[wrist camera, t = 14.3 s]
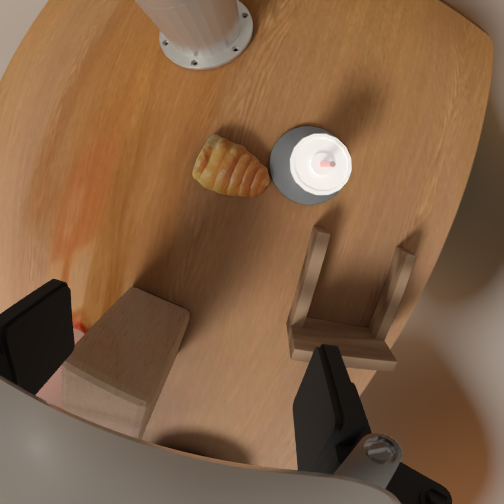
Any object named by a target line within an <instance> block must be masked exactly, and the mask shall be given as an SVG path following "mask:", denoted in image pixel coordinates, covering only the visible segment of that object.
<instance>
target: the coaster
mask: <svg viewBox="0 0 504 504" xmlns="http://www.w3.org/2000/svg"><path fill="white" fill-rule="evenodd" d="M312 134H328V135H330V136H333V135H332V134H331V133H329V132H328V131H326V130H324V129H321V128H318V127H312V126H303V127H298V128H295V129H292V130H290V131H288V132H287V133H285V134H284V135H283V136H282V137H281V138H280V139H279V140H278V141H277V142H276V144H275V146H274V148H273V150H272V152H271V156H270V173H271V177H272V179H273V182H274V183H275V185H276V187H277V188H278V189H279V191H280V192H281V193H282V194H283V195H285V196H286V197H287V198H289V199H290V200H292V201H295V202H297V203H300V204H306V205H313V204H319V203H323V202H325V201H327V200H329V199H331V198H332V197H334V196H335V195H336V194H337V193H338V192H339V191H340V190H341V189H340V190H338V191H336V192H334V193H332V194H330V195H315V194H312V193H310V192H307V191H305V190H304V189H303V188H302V187H300V186H299V185H298V184H297V183H296V182H295V179H294V177H293V175H292V173H291V171H290V157H291V154H292V152H293V149H294V147H295V146H296V145H297V144H298V143H299V142H300V141H301V140H302V139H303V138H305V137H307V136H309V135H312ZM333 137H335V136H333ZM335 138H336V137H335Z"/></svg>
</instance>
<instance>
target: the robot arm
mask: <svg viewBox="0 0 504 504" xmlns="http://www.w3.org/2000/svg"><path fill="white" fill-rule="evenodd" d="M134 1H135V2H136V3H137V4H138V5H139V6H140V7H141V8H142V10H143V11H144V12H145V13H146V14H147V15H148V16H149V18H150V19H151V20H152V21H153V22H154V23H155V25H156V26H157V27H158V28H159V29H160V32H159V41H160V46H161V48H162V50H163V52H164V54H165V55H166V56H167V57H168V58H169V59H170V60H171V61H172V62H173V63H175V64H177V65H179V66H180V67H183V68H186V69H191V70H209V69H214V68H217V67H220V66H223V65H225V64H227V63H229V62H231V61H233V60H234V59H235V58H237V57H238V56H239V55H240V54H241V53H242V52H243V51H244V50H245V49H246V47H247V46H248V44H249V43H250V40H251V37H252V33H253V21H252V17H251V14H250V12H249V10H248V9H247V8H246V7H245V5H244V4H243V3H241V2H240V1H239V0H134ZM244 17H246V18H244ZM166 44H167V45H166ZM234 50H238V51H234ZM195 63H197V65H195V66H194V64H195ZM74 347H75V343H74V333H73V322H72V309H71V291H70V288H69V287H68V285H67V283H66V282H63V281H60V280H57V279H52V280H50V281H49V282H47V283H46V284H44V285H43V286H41V287H40V288H38V289H36V290H35V291H33V292H32V293H30V294H29V295H27V296H26V297H24V298H23V299H21V300H20V301H18V302H17V303H16V304H14V305H13V306H11V307H10V308H8V309H7V310H5V311H4V312H3V313H1V314H0V504H452V498H451V495H450V493H449V492H448V490H447V489H446V488H445V487H443V486H442V485H441V484H438V483H437V482H435V481H433V480H431V479H429V478H428V477H426V476H424V475H422V474H420V473H419V472H417V471H415V470H413V469H412V468H410V467H408V466H407V465H405V464H403V463H401V459H402V449H401V447H400V445H399V444H398V443H397V442H396V441H395V440H394V439H393V438H391V437H389V436H387V435H384V434H380V433H372V432H371V429H370V426H369V424H368V420H367V418H366V415H365V412H364V409H363V406H362V403H361V400H360V398H359V395H358V392H357V389H356V386H355V385H354V383H352V382H351V381H350V378H349V375H348V373H347V370H346V367H345V364H344V361H343V359H342V356H341V353H340V350H339V348H338V346H335V345H328V344H321V346H320V347H316V348H315V349H314V351H313V354H312V357H311V359H310V362H309V365H308V367H307V370H306V372H305V375H304V377H303V380H302V382H301V385H300V387H299V390H298V392H297V395H296V397H295V399H294V403H293V417H294V428H295V440H296V452H297V464H298V470H289V469H279V468H270V467H262V466H255V465H249V464H242V463H236V462H230V461H224V460H219V459H214V458H209V457H204V456H199V455H195V454H191V453H187V452H182V451H179V450H175V449H171V448H167V447H164V446H160V445H157V444H153V443H150V442H147V441H143V440H140V439H137V438H134V437H131V436H128V435H125V434H122V433H119V432H117V431H114V430H111V429H109V428H106V427H103V426H101V425H98V424H96V423H93V422H91V421H88V420H86V419H84V418H81V417H79V416H77V415H74V414H72V413H70V412H68V411H66V410H63V409H61V408H59V407H57V406H55V405H53V404H51V403H49V402H47V401H45V400H43V399H41V398H39V397H37V396H35V395H36V394H37V393H38V391H39V390H40V389H41V388H42V387H43V386H44V384H45V383H46V382H47V381H48V380H49V379H50V377H51V376H52V375H53V374H54V373H55V372H56V371H57V369H58V368H59V367H60V366H61V365H62V364H63V363H64V361H65V360H66V359H67V358H68V357H69V356H70V355H71V354H72V352H73V350H74Z"/></svg>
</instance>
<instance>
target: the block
mask: <svg viewBox="0 0 504 504" xmlns="http://www.w3.org/2000/svg"><path fill="white" fill-rule="evenodd" d="M189 319H190V315H189V311H188V310H186V309H184V308H182V307H179V306H177V305H175V304H172V303H170V302H168V301H165V300H163V299H161V298H158V297H156V296H154V295H152V294H149V293H147V292H145V291H143V290H140V289H138V288H134V287H132V288H130V289H129V290H128V291H127V292H126V293H125V294H124V295H123V296H122V297H121V298H120V299H119V300H118V301H117V302H116V303H115V304H114V305H113V306H112V307H111V308H110V309H109V310H108V311H107V312H106V313H105V314H104V315H103V316H102V317H101V318H100V319H99V320H98V321H97V322H96V323H95V324H94V325H93V326H92V327H91V328H90V330H89V331H88V332H87V333H86V334H85V335H84V336H83V337H82V338H81V339H80V340H79V341H78V342H77V343H76V344H75V347H74V350H73V352H72V354H71V355H70V356H69V357H68V358H67V359H66V360H65V361H64V363H63V364H62V403H63V410H66V411H68V412H70V413H72V414H74V415H77V416H79V417H81V418H84V419H86V420H88V421H91V422H93V423H96V424H98V425H101V426H103V427H106V428H109V429H111V430H114V431H117V432H119V433H122V434H125V435H128V436H131V437H134V438H137V439H140V440H141V438H142V436H143V433H144V431H145V429H146V426H147V424H148V421H149V419H150V417H151V414H152V412H153V409H154V407H155V405H156V402H157V400H158V398H159V395H160V393H161V390H162V388H163V386H164V383H165V381H166V379H167V376H168V374H169V372H170V370H171V367H172V365H173V363H174V360H175V358H176V355H177V352H178V349H179V347H180V344H181V341H182V338H183V335H184V333H185V330H186V327H187V324H188V322H189Z"/></svg>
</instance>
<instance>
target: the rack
mask: <svg viewBox="0 0 504 504" xmlns="http://www.w3.org/2000/svg"><path fill="white" fill-rule="evenodd" d="M330 235H331V234H330V233H329V232H328V231H327V230H326V229H325V228H320V227H316V226H313V230H312V234H311V238H310V241H309V245H308V249H307V253H306V257H305V260H304V264H303V268H302V271H301V275H300V278H299V282H298V286H297V289H296V293H295V296H294V300H293V303H292V306H291V310H290V313H289V317H288V320H287V323H286V324H287V332H288V340H289V348H290V357H291V360H297V361H303V362H310V359H311V357H312V354H313V351H314V349H315V348H316V347H320V346H321V344H328V345H335V346H338V348H339V350H340V353H341V356H342V359H343V361H344V364H345V367H350V368H359V369H369V370H380V371H393V369H394V367H395V365H396V363H397V361H396V359H395V357H394V356H393V354H392V353H391V351H390V349H389V347H388V346H387V344H386V343H385V341H384V340H385V338H386V335H387V333H388V331H389V328H390V326H391V324H392V321H393V319H394V316H395V314H396V311H397V309H398V306H399V304H400V301H401V299H402V296H403V293H404V291H405V288H406V285H407V283H408V280H409V277H410V274H411V271H412V268H413V265H414V262H415V259H416V255H414V254H413V253H411V252H410V251H408V250H407V249H404V248H400V247H397V248H396V251H395V254H394V257H393V260H392V263H391V266H390V269H389V272H388V275H387V278H386V281H385V284H384V287H383V290H382V292H381V295H380V298H379V301H378V303H377V306H376V309H375V311H374V314H373V316H372V319H371V321H370V324H369V326H368V327H362V326H356V325H350V324H344V323H338V322H332V321H326V320H320V319H314V318H309V317H306V316H307V313H308V310H309V307H310V304H311V300H312V297H313V294H314V291H315V287H316V284H317V281H318V277H319V274H320V270H321V267H322V264H323V260H324V257H325V253H326V249H327V246H328V242H329V239H330Z"/></svg>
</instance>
